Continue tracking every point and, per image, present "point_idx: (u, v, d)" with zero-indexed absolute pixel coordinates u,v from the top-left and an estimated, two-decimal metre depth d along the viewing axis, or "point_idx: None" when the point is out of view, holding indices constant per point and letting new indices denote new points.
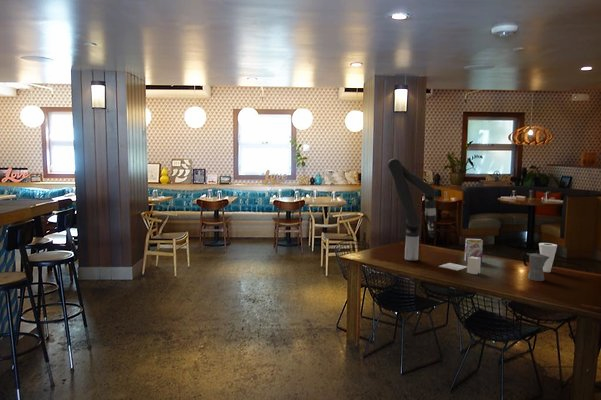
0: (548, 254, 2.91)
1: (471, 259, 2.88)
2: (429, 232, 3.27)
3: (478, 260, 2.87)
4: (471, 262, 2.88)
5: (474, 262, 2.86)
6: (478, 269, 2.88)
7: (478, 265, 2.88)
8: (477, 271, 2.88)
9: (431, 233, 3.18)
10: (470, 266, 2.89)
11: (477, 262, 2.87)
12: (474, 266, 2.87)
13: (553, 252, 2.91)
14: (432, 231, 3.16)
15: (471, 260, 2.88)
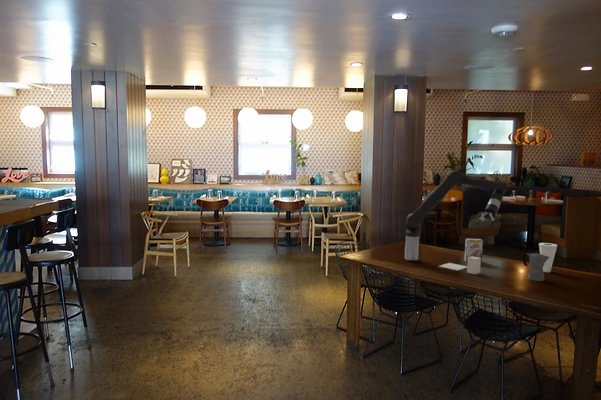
0: (548, 254, 2.91)
1: (471, 259, 2.88)
2: (479, 221, 3.00)
3: (478, 260, 2.87)
4: (471, 262, 2.88)
5: (474, 262, 2.86)
6: (478, 269, 2.88)
7: (478, 265, 2.88)
8: (477, 271, 2.88)
9: (493, 222, 2.93)
10: (470, 266, 2.89)
11: (477, 262, 2.87)
12: (474, 266, 2.87)
13: (553, 252, 2.91)
14: (497, 220, 2.93)
15: (471, 260, 2.88)
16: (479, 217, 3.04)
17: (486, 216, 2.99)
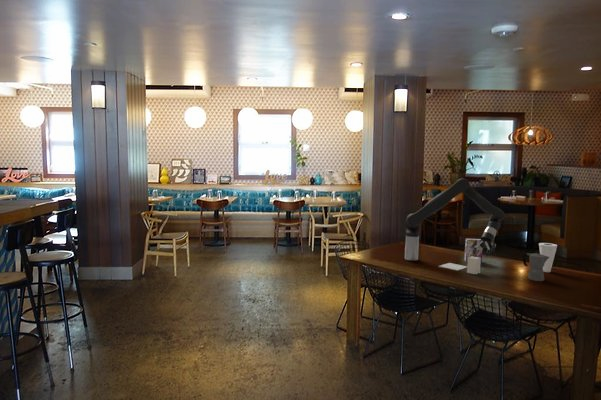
0: (548, 254, 2.91)
1: (471, 259, 2.88)
2: (475, 250, 2.98)
3: (478, 260, 2.87)
4: (471, 262, 2.88)
5: (474, 262, 2.86)
6: (478, 269, 2.88)
7: (478, 265, 2.88)
8: (477, 271, 2.88)
9: (489, 251, 2.91)
10: (470, 266, 2.89)
11: (477, 262, 2.87)
12: (474, 266, 2.87)
13: (553, 252, 2.91)
14: (493, 250, 2.91)
15: (471, 260, 2.88)
16: (475, 245, 3.02)
17: (482, 244, 2.97)
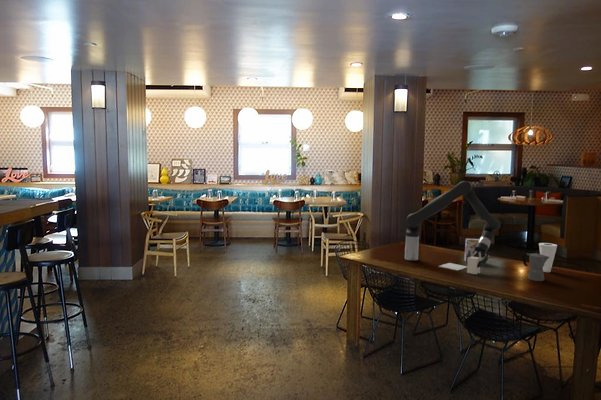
0: (548, 254, 2.91)
1: (471, 259, 2.88)
2: None
3: (478, 260, 2.87)
4: (471, 262, 2.88)
5: (474, 262, 2.86)
6: (478, 269, 2.88)
7: None
8: (477, 271, 2.88)
9: (481, 262, 2.87)
10: (470, 266, 2.89)
11: (477, 262, 2.87)
12: (474, 266, 2.87)
13: (553, 252, 2.91)
14: (484, 261, 2.87)
15: (471, 260, 2.88)
16: (469, 256, 2.96)
17: (476, 255, 2.92)
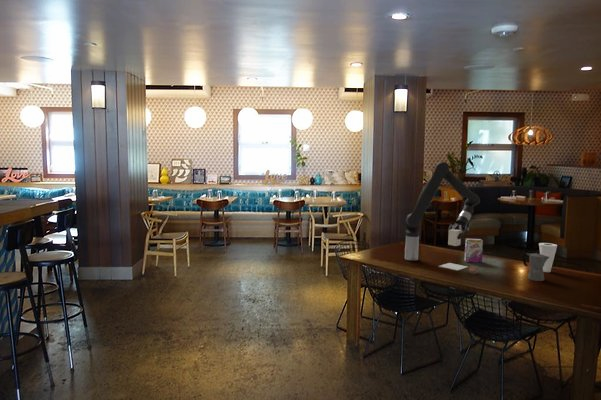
0: (548, 254, 2.91)
1: (452, 231, 3.01)
2: None
3: (458, 232, 3.01)
4: (452, 234, 3.01)
5: (454, 234, 3.00)
6: (458, 241, 3.02)
7: None
8: (457, 243, 3.01)
9: (461, 234, 3.01)
10: (451, 238, 3.02)
11: (457, 234, 3.00)
12: (454, 238, 3.00)
13: (553, 252, 2.91)
14: (464, 233, 3.00)
15: (452, 232, 3.02)
16: (450, 229, 3.10)
17: (457, 228, 3.06)
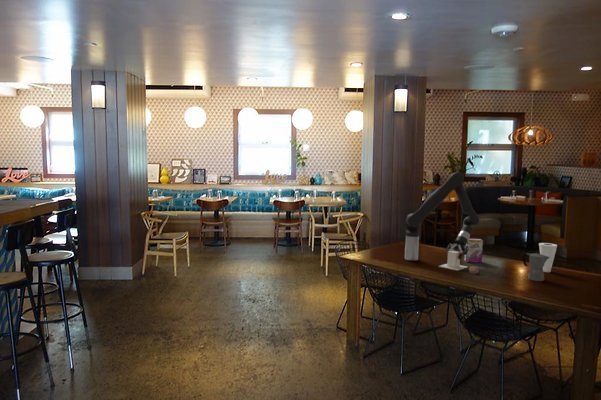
0: (548, 254, 2.91)
1: (451, 253, 3.03)
2: None
3: (457, 254, 3.02)
4: (451, 256, 3.03)
5: (453, 256, 3.02)
6: (457, 263, 3.03)
7: (457, 259, 3.03)
8: (456, 264, 3.03)
9: (461, 254, 3.02)
10: (450, 260, 3.04)
11: (456, 256, 3.02)
12: (453, 260, 3.02)
13: (553, 252, 2.91)
14: (465, 253, 3.01)
15: (451, 254, 3.03)
16: (449, 248, 3.12)
17: (455, 248, 3.07)
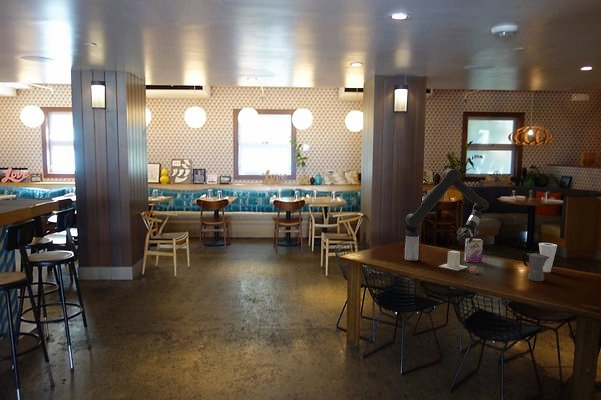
0: (548, 254, 2.91)
1: (451, 253, 3.03)
2: (459, 237, 3.15)
3: (457, 254, 3.02)
4: (451, 256, 3.03)
5: (453, 256, 3.02)
6: (457, 263, 3.03)
7: (457, 259, 3.03)
8: (456, 264, 3.03)
9: (472, 238, 3.09)
10: (450, 260, 3.04)
11: (456, 256, 3.02)
12: (453, 260, 3.02)
13: (553, 252, 2.91)
14: (475, 236, 3.09)
15: (451, 254, 3.03)
16: None
17: (465, 232, 3.15)
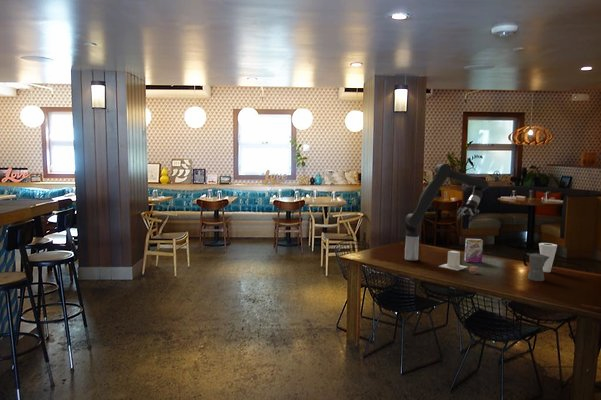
0: (548, 254, 2.91)
1: (451, 253, 3.03)
2: (459, 216, 3.17)
3: (457, 254, 3.02)
4: (451, 256, 3.03)
5: (453, 256, 3.02)
6: (457, 263, 3.03)
7: (457, 259, 3.03)
8: (456, 264, 3.03)
9: (472, 217, 3.10)
10: (450, 260, 3.04)
11: (456, 256, 3.02)
12: (453, 260, 3.02)
13: (553, 252, 2.91)
14: (476, 215, 3.10)
15: (451, 254, 3.03)
16: None
17: (466, 211, 3.16)
